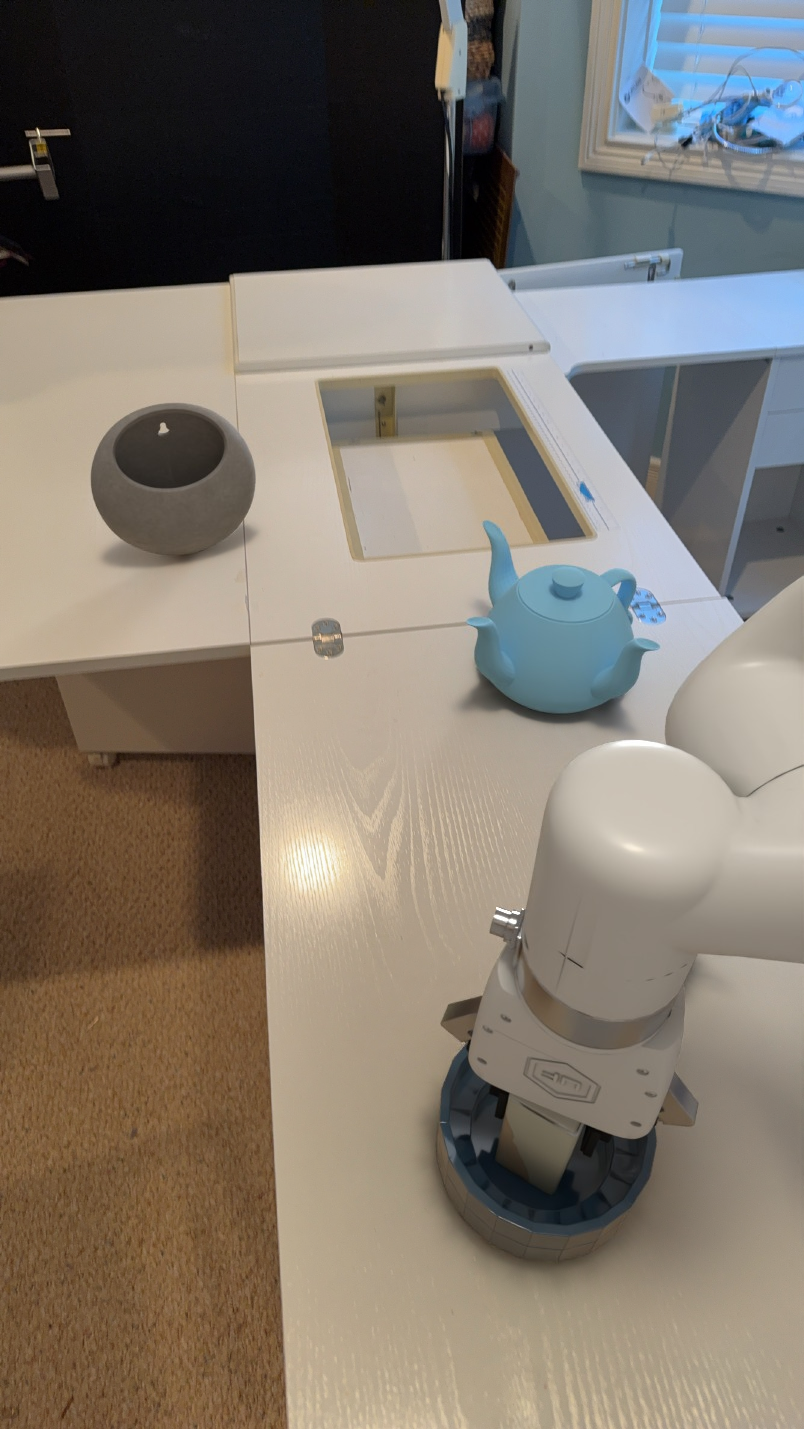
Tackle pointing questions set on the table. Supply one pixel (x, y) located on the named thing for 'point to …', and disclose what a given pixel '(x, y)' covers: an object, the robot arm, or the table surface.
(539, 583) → the teapot
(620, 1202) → the round ribbed tray
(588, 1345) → the table surface
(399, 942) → the table surface
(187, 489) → the planter
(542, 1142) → the box
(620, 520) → the table surface
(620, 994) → the robot arm
